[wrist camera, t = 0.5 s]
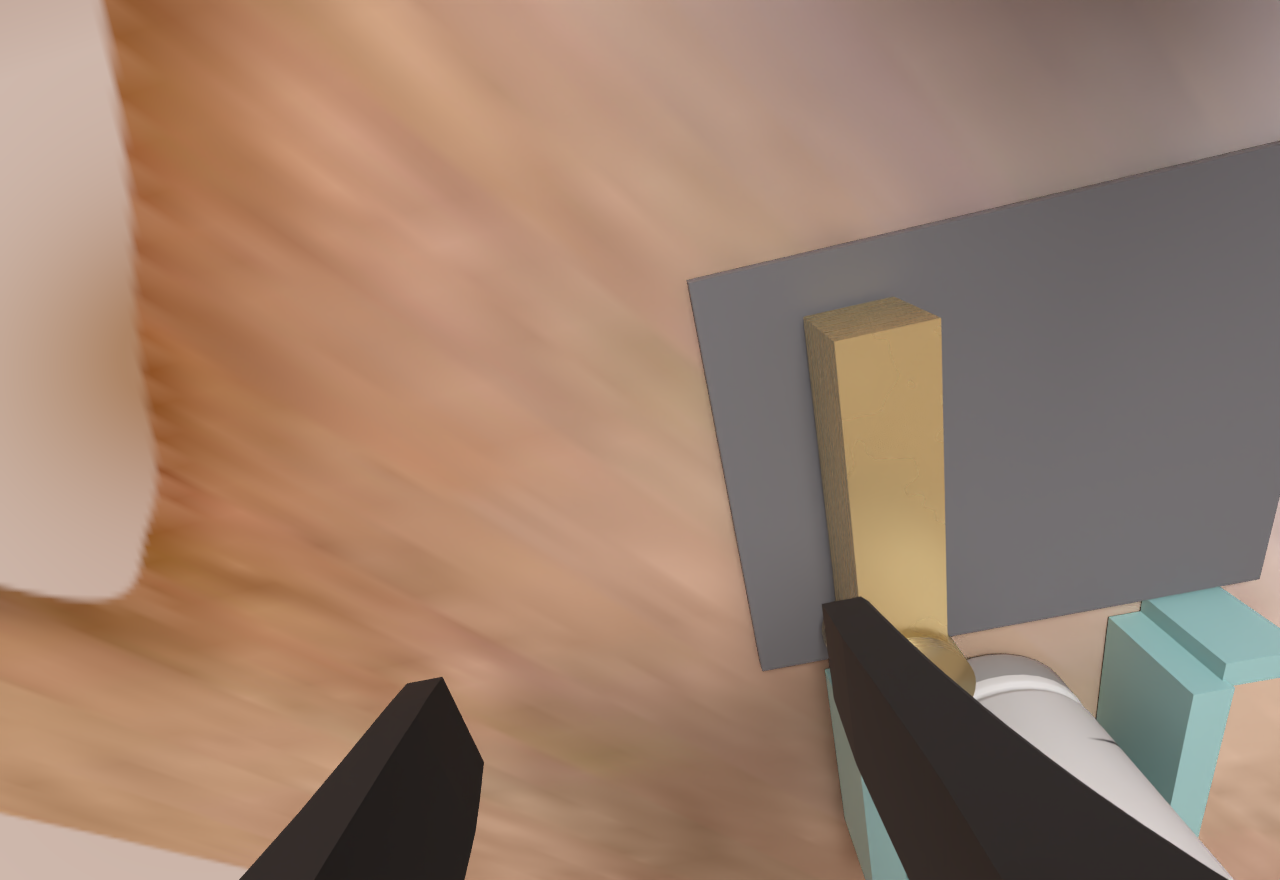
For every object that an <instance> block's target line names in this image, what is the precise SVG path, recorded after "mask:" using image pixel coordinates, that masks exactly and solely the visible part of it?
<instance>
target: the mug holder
mask: <svg viewBox="0 0 1280 880" xmlns="http://www.w3.org/2000/svg"><path fill="white" fill-rule="evenodd" d="M825 675H826V682H827V690H828V697H829V705H830V712H831V720H832V727H833V735H834V742H835V750H836V757H837V765H838V772H839V780H840V787H841V795H842V802H843V810H844V818H845V821H846V824H847V827H848V830H849V833H850V836H851V839H852V842H853V845H854V848H855V850H856V853H857V856H858V859H859V862H860V865H861V868H862V871H863V874H864V877H865V880H909V879H908V877H907V874H906V872H905V870H904V868H903V866H902V864H901V861H900V859H899V857H898V855H897V853H896V851H895V848H894V846H893V844H892V842H891V840H890V837H889V835H888V833H887V831H886V829H885V827H884V824H883V822H882V820H881V818H880V816H879V813H878V811H877V809H876V807H875V805H874V802H873V800H872V798H871V796H870V794H869V791H868V789H867V787H866V785H865V783H864V780H863V778H862V776H861V774H860V772H859V769H858V767H857V765H856V762H855V759H854V756H853V753H852V751H851V748H850V745H849V742H848V739H847V736H846V733H845V730H844V728H843V725H842V722H841V719H840V716H839V713H838V710H837V707H836V704H835V701H834V697H833V689H832V681H831V673H830V669H825ZM1274 678H1280V628H1279V627H1277V626H1276V625H1274V624H1273V623H1271V622H1270V621H1269V620H1267V619H1266V618H1264V617H1263V616H1261V615H1260V614H1258V613H1257V612H1256V611H1254V610H1253V609H1251V608H1250V607H1248V606H1247V605H1245V604H1244V603H1243V602H1241V601H1240V600H1238V599H1237V598H1235V597H1234V596H1232V595H1231V594H1230V593H1228V592H1227V591H1225V590H1224V589H1222V588H1221V587H1220V586H1219V587H1214V588H1209V589H1203V590H1198V591H1192V592H1187V593H1182V594H1176V595H1171V596H1165V597H1160V598H1155V599H1149V600H1144V601H1142V604H1141V611H1139V612H1133V613H1128V614H1123V615H1117V616H1112V617H1109V619H1108V627H1107V635H1106V643H1105V652H1104V660H1103V668H1102V676H1101V685H1100V693H1099V701H1098V710H1097V718H1096V720H1097V721H1098V723H1099V724H1100V725H1101V726H1102V727H1103V728H1104V729H1105V731H1106V732H1107V733H1108V734H1109V735H1110V736H1111V738H1112V739H1113V740H1114V741H1115V742H1116V743H1117V745H1118V746H1119V747H1120V748H1121V749H1122V750H1123V752H1124V753H1125V754H1126V755H1127V756H1128V757H1129V758H1130V760H1131V761H1132V762H1133V763H1134V764H1135V765H1136V767H1137V768H1138V769H1139V770H1140V771H1141V772H1142V774H1143V775H1144V776H1145V777H1146V778H1147V779H1148V780H1149V782H1150V783H1151V784H1152V785H1153V786H1154V787H1155V789H1156V790H1157V791H1158V792H1159V793H1160V794H1161V796H1162V797H1163V798H1164V799H1165V800H1166V801H1167V803H1168V804H1169V805H1170V806H1171V807H1172V808H1173V809H1174V811H1175V812H1176V813H1177V814H1178V815H1179V816H1180V818H1181V819H1182V820H1183V821H1184V822H1185V823H1186V825H1187V826H1188V827H1189V828H1190V829H1191V830H1192V831H1193V833H1194V834H1195V835H1196V836H1197V837H1198V836H1199V832H1200V828H1201V824H1202V819H1203V815H1204V811H1205V807H1206V803H1207V799H1208V795H1209V791H1210V787H1211V783H1212V779H1213V775H1214V771H1215V767H1216V763H1217V759H1218V755H1219V750H1220V746H1221V742H1222V738H1223V734H1224V730H1225V726H1226V722H1227V718H1228V714H1229V710H1230V706H1231V702H1232V698H1233V694H1234V690H1235V687H1233V686H1234V685H1240V684H1245V683H1251V682H1257V681H1263V680H1268V679H1274Z"/></svg>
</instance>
